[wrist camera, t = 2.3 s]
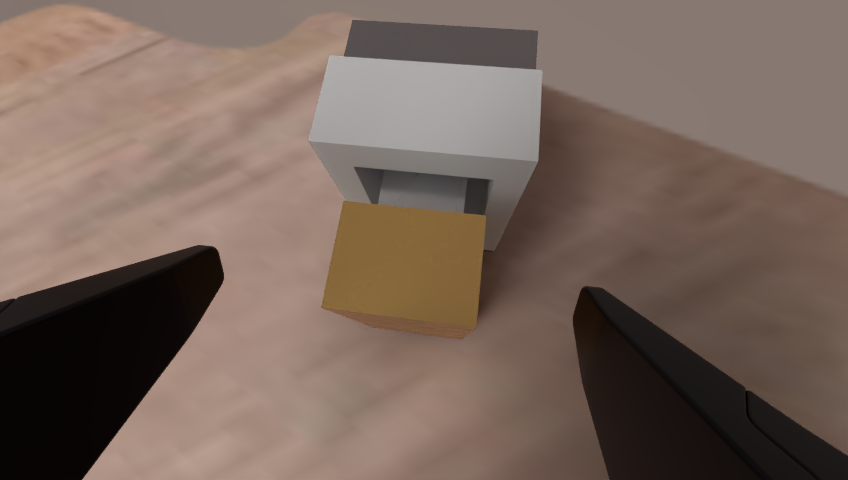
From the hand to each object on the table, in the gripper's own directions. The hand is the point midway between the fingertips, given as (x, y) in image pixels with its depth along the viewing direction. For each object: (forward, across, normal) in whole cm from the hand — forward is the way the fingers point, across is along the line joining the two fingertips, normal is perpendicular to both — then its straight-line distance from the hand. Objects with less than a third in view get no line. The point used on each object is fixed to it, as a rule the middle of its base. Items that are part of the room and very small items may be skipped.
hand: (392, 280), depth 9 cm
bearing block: (+10, 0, +3) cm, 10 cm away
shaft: (+9, 0, +2) cm, 9 cm away
